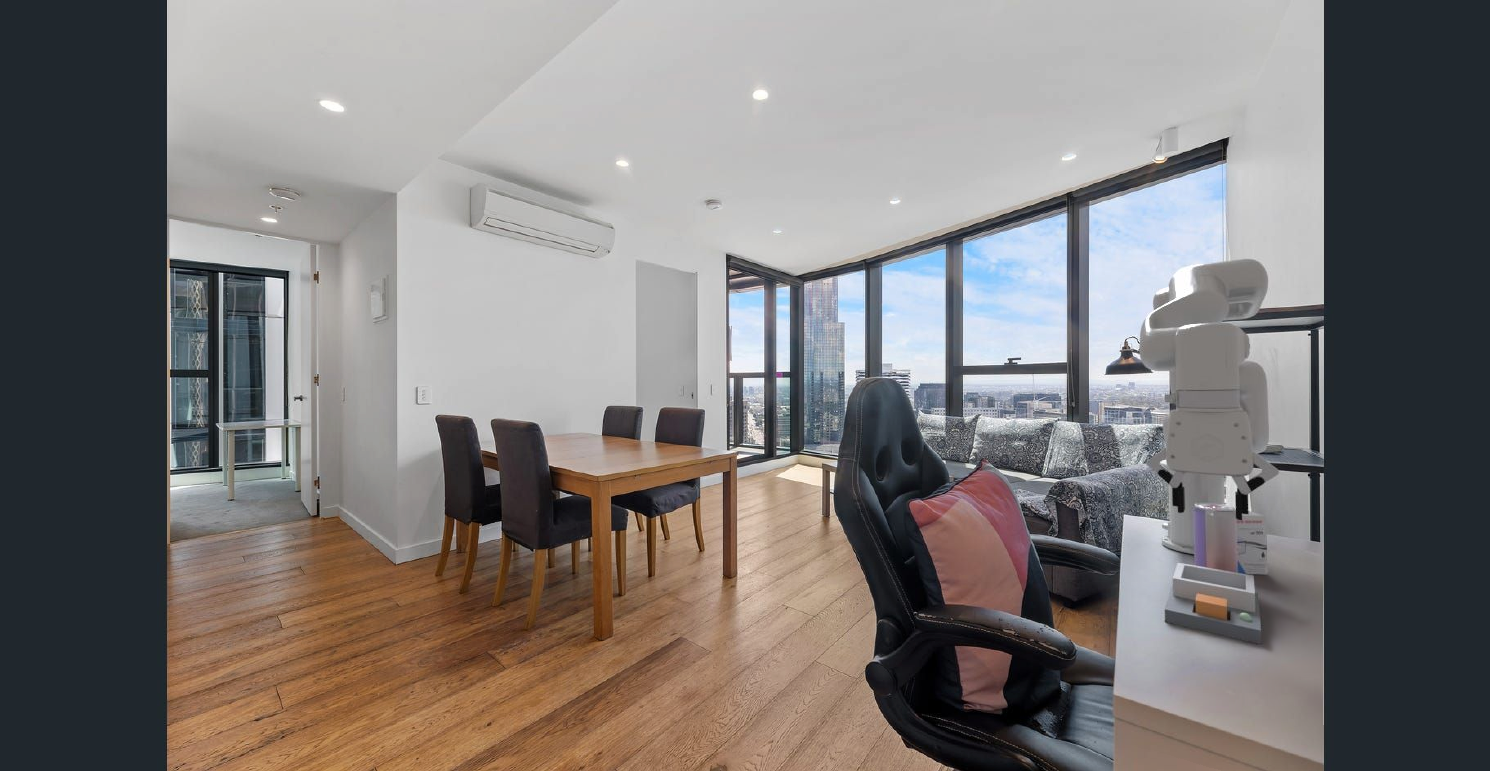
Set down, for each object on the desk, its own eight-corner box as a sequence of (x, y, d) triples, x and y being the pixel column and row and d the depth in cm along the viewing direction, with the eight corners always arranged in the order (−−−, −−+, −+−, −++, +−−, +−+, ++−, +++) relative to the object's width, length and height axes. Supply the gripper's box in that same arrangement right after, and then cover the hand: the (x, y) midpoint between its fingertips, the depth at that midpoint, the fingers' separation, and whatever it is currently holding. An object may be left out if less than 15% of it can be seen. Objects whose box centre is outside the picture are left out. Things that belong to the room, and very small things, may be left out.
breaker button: (1197, 612, 85) (1196, 593, 85) (1227, 619, 82) (1226, 599, 82) (1195, 620, 82) (1195, 600, 82) (1226, 627, 79) (1226, 606, 79)
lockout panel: (1175, 588, 96) (1174, 561, 96) (1258, 604, 89) (1257, 575, 89) (1164, 621, 83) (1164, 590, 83) (1261, 644, 76) (1260, 610, 76)
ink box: (1221, 574, 102) (1220, 515, 102) (1202, 565, 107) (1200, 509, 107) (1269, 575, 101) (1268, 515, 101) (1247, 566, 106) (1246, 509, 106)
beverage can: (1187, 583, 98) (1186, 504, 98) (1206, 578, 101) (1205, 501, 101) (1226, 594, 93) (1224, 511, 93) (1245, 589, 95) (1243, 507, 95)
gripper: (1135, 402, 85) (1138, 511, 85) (1287, 403, 73) (1290, 529, 73) (1141, 400, 91) (1144, 502, 91) (1284, 401, 79) (1286, 518, 79)
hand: (1209, 513), depth 82 cm, fingers open, 6 cm apart
